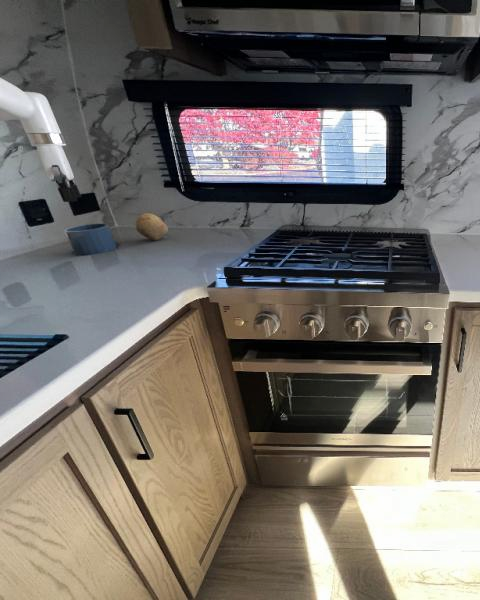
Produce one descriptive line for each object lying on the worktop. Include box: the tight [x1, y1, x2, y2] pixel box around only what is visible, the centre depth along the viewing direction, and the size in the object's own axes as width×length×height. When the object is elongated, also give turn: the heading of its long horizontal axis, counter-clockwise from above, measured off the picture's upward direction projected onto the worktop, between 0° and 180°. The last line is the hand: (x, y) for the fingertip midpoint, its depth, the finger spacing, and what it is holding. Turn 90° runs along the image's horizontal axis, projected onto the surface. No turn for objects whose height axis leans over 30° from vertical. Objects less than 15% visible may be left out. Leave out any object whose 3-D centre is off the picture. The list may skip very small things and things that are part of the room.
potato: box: [135, 212, 169, 241], centre depth 122 cm, size 9×9×10 cm
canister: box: [63, 222, 118, 257], centre depth 112 cm, size 11×11×8 cm
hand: (73, 199), depth 106 cm, fingers open, 9 cm apart
